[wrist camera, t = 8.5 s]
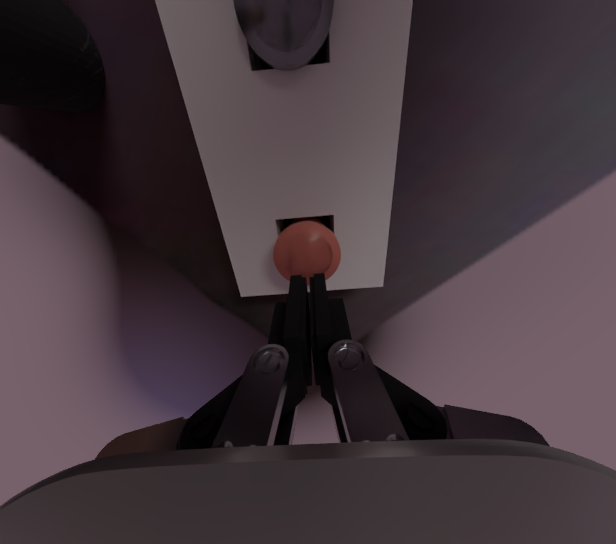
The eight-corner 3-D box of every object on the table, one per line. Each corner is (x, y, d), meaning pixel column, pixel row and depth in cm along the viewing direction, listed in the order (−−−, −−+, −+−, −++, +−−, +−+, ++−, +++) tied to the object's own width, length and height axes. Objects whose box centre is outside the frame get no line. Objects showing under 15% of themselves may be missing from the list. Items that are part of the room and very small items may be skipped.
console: (174, -48, 14) (115, -136, 10) (391, -76, 14) (431, -182, 9) (252, 272, 26) (241, 296, 22) (369, 262, 25) (383, 286, 21)
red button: (275, 211, 19) (267, 227, 15) (333, 206, 19) (340, 221, 15) (283, 263, 22) (278, 287, 18) (334, 259, 22) (341, 283, 18)
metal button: (243, -15, 14) (219, -79, 10) (325, -25, 14) (332, -94, 10) (259, 89, 16) (245, 71, 13) (328, 82, 16) (335, 61, 12)
